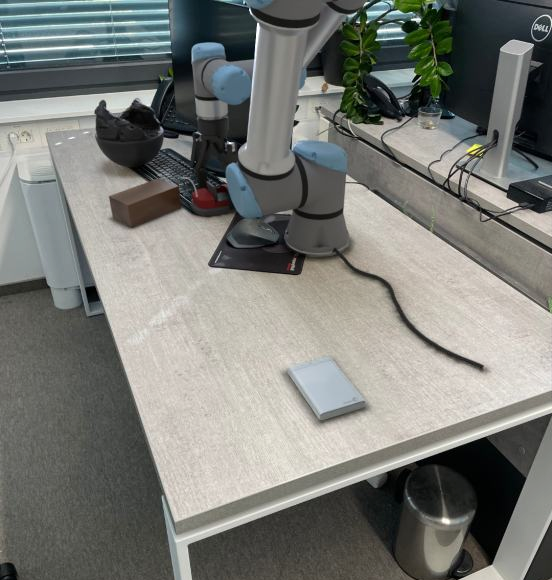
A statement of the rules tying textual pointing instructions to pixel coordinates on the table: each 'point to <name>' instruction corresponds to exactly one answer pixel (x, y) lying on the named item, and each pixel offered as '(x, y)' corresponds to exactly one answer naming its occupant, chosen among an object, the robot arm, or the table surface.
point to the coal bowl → (129, 134)
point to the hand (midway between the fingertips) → (218, 201)
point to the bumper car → (210, 200)
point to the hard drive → (326, 388)
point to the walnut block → (145, 202)
